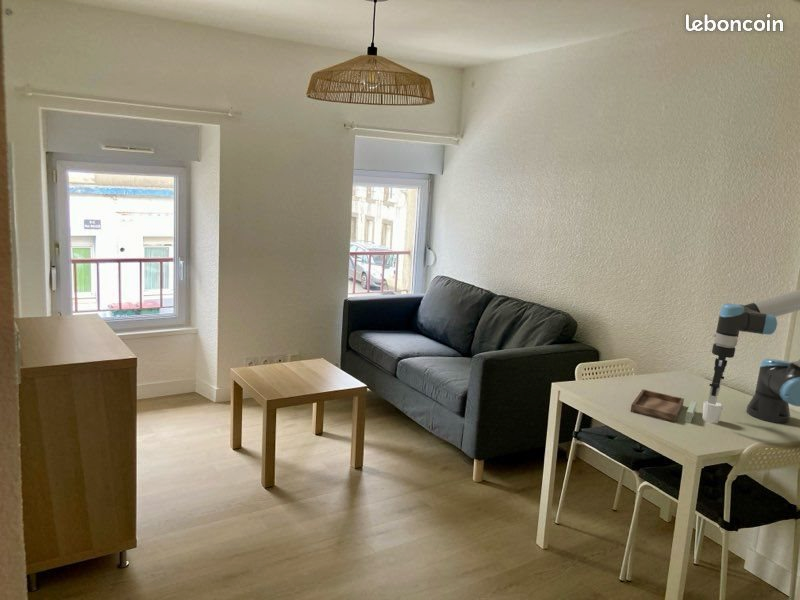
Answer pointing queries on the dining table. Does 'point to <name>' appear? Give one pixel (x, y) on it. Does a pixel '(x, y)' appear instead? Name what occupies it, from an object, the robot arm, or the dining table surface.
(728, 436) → the dining table surface
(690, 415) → the rail
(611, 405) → the dining table surface
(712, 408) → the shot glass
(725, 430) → the dining table surface
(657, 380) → the dining table surface
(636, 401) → the tray
